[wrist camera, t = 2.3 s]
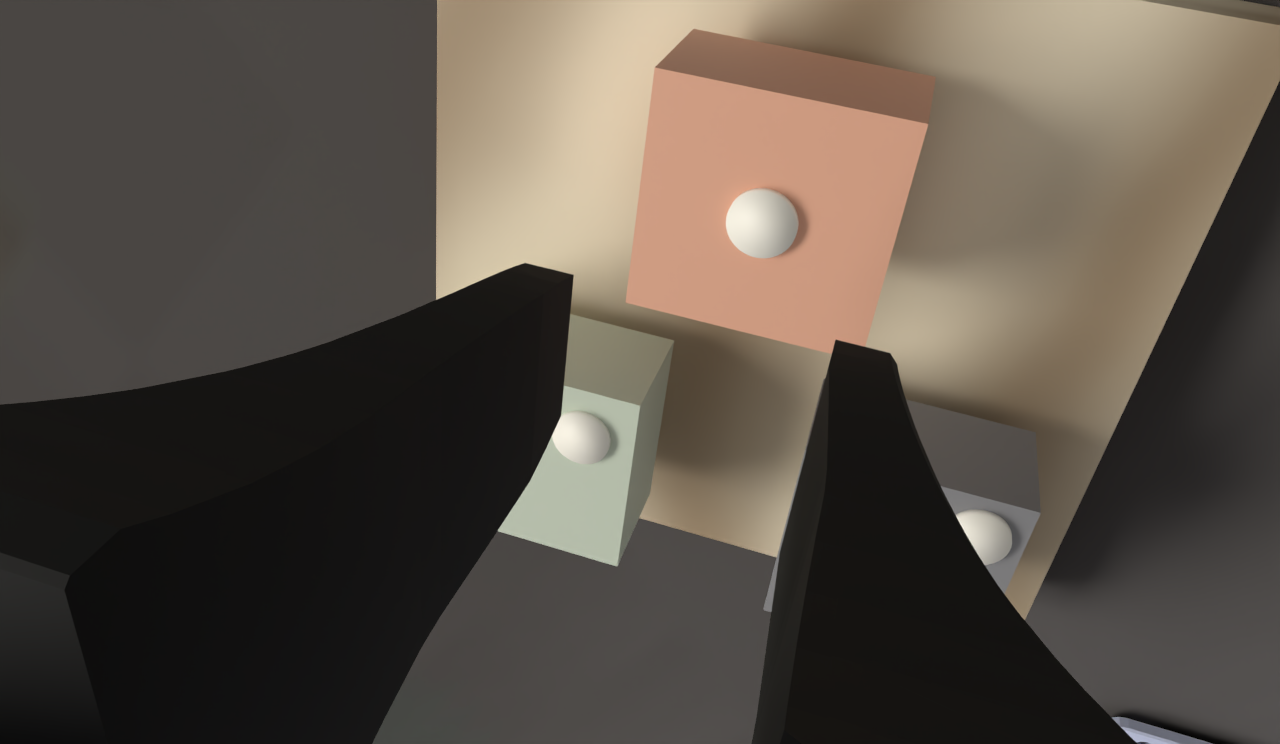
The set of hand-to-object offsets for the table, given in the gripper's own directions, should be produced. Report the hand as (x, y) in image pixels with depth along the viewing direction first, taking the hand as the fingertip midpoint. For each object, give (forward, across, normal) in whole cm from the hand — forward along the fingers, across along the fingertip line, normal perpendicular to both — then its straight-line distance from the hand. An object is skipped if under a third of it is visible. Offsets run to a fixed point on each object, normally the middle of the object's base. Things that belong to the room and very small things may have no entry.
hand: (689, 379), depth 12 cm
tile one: (+7, 0, 0) cm, 7 cm away
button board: (+9, 0, +3) cm, 10 cm away
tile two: (+7, +4, +6) cm, 10 cm away
